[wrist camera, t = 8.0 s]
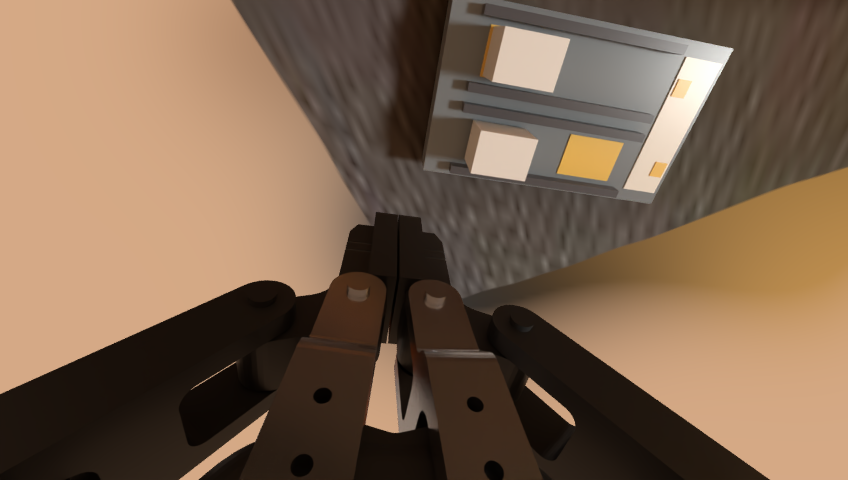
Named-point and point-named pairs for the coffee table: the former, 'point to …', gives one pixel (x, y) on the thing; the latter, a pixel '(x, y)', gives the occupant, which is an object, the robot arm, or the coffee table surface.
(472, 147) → the switch
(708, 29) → the coffee table surface
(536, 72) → the switch
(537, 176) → the switch panel
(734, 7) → the coffee table surface
